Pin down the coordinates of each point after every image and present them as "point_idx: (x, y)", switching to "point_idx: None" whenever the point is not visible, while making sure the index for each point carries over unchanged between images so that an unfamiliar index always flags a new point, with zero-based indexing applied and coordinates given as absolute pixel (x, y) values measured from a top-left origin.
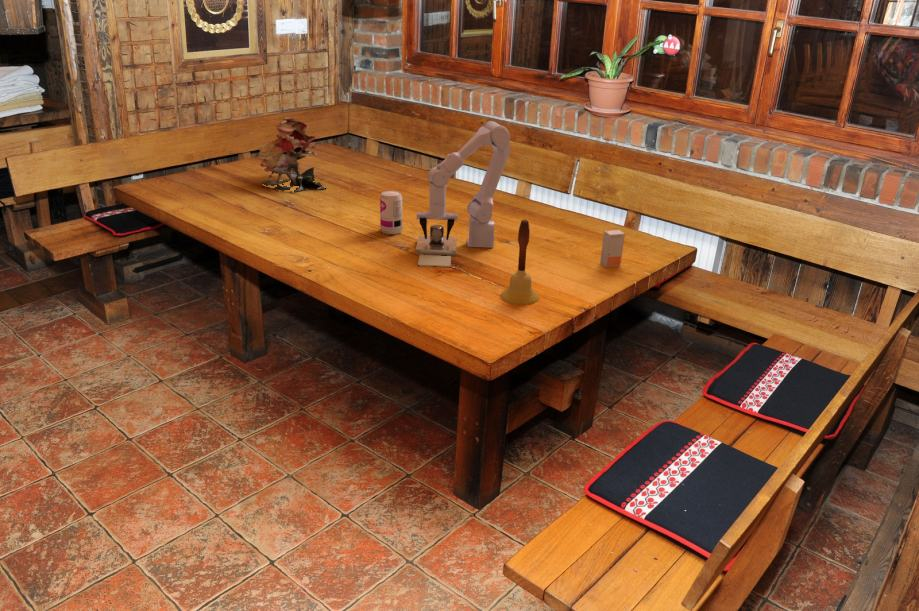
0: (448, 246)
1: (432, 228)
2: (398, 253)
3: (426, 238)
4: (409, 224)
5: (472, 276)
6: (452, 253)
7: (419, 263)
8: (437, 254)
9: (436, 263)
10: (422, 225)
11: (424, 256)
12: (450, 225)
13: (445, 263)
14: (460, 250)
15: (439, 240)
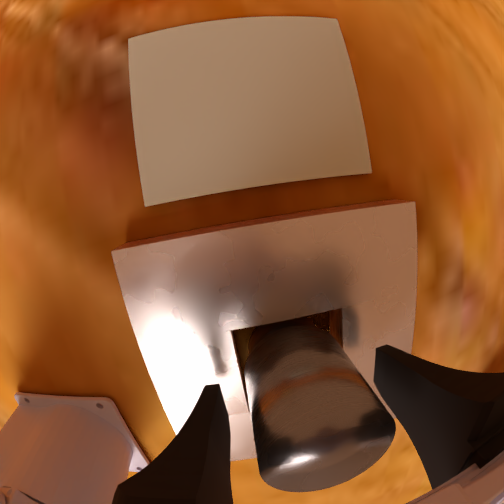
0: (189, 327)
1: (377, 416)
2: (465, 200)
3: (380, 348)
4: (400, 485)
5: (32, 6)
6: (140, 242)
7: (333, 32)
8: (255, 220)
9: (224, 42)
10: (485, 379)
11: (337, 149)
12: (154, 482)
13: (162, 59)
14: (127, 348)
15: (272, 353)
